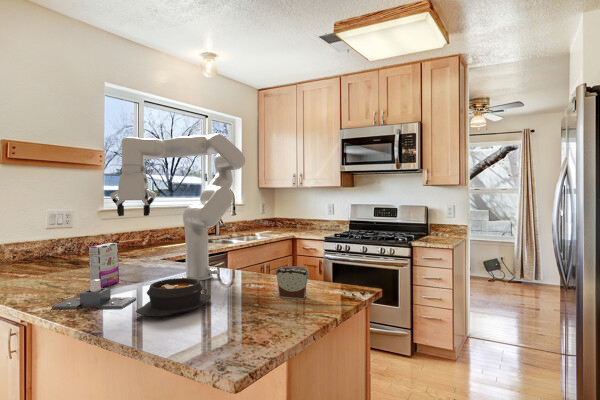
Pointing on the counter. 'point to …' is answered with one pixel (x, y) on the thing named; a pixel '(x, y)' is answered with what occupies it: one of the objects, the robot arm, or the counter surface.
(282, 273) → the food container
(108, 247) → the candy bar box
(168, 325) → the counter surface
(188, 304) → the casserole
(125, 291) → the counter surface
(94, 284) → the pin
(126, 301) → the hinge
